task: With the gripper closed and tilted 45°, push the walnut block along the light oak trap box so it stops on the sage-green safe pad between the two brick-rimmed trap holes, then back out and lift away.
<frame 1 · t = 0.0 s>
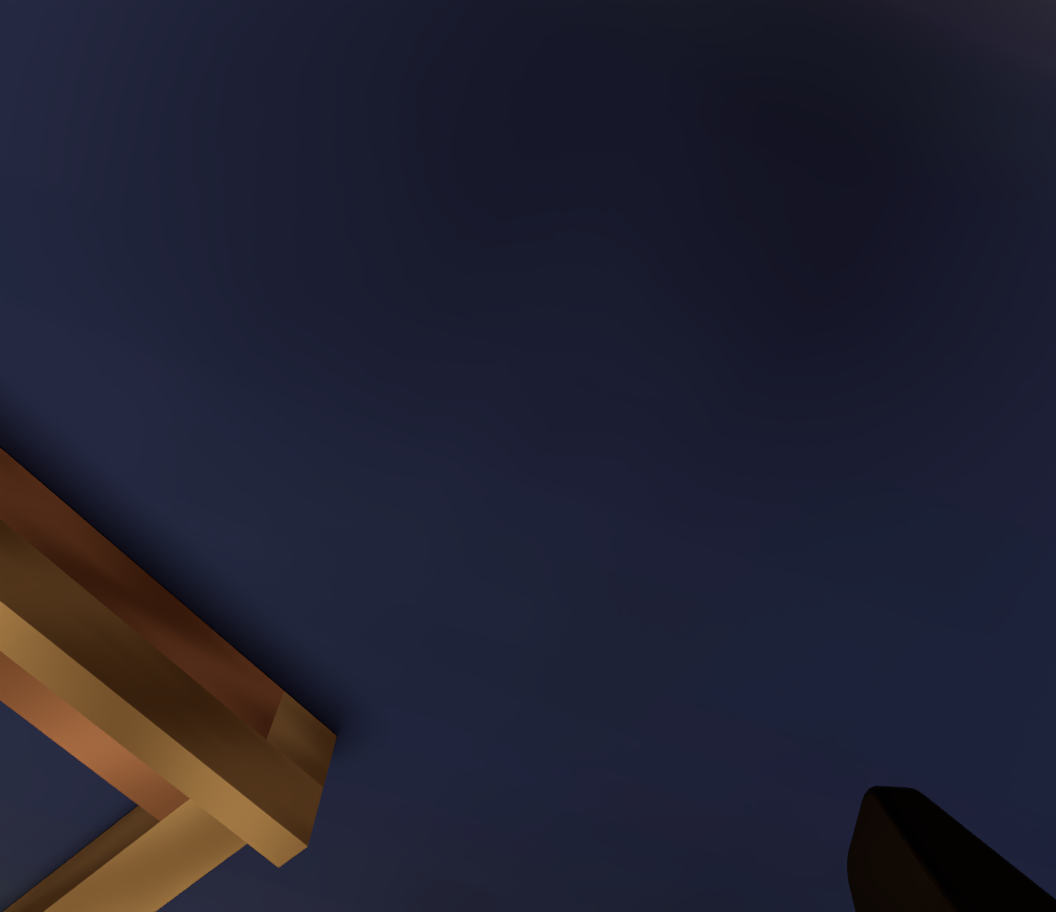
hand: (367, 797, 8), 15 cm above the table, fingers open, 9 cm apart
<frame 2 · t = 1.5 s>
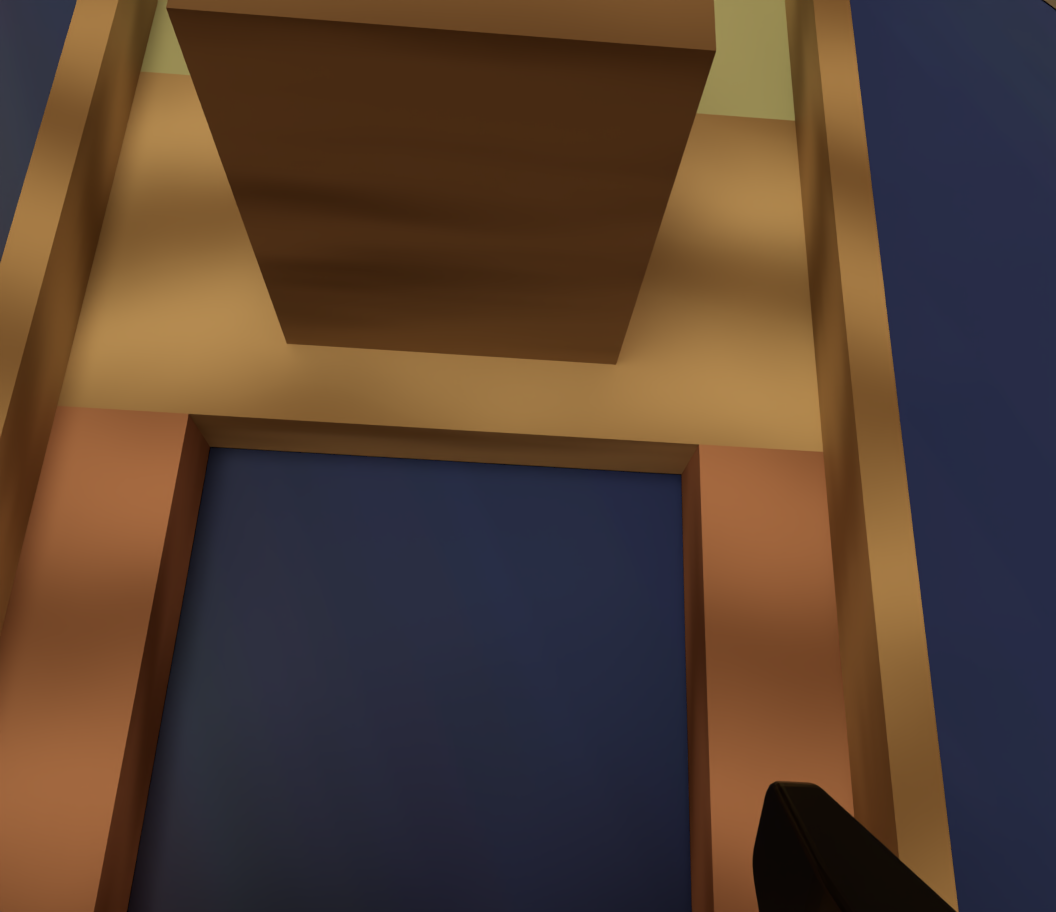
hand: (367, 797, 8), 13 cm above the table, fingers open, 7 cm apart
walnut block: (463, 217, 25), point 2 cm above the table, touching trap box
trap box: (481, 18, 30), on the table
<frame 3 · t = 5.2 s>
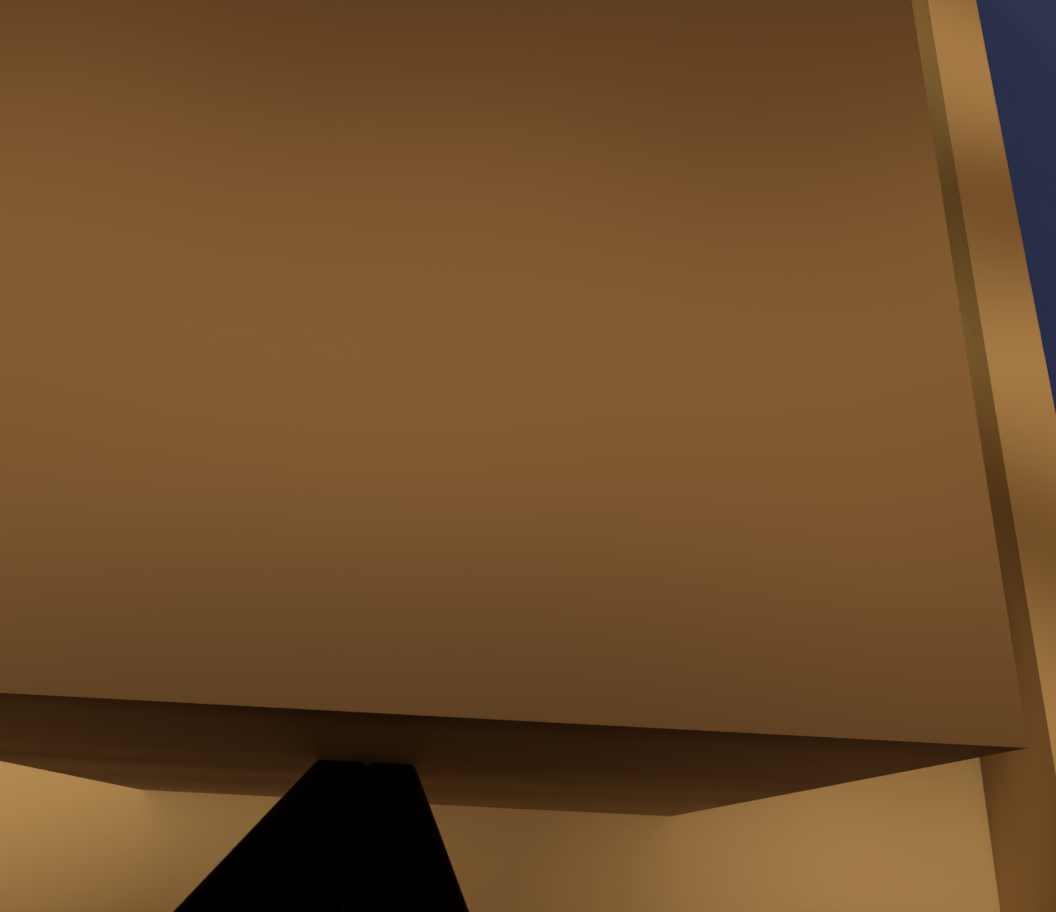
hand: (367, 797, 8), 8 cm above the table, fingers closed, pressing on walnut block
walnut block: (431, 550, 16), point 2 cm above the table, touching gripper, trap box
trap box: (466, 207, 21), on the table
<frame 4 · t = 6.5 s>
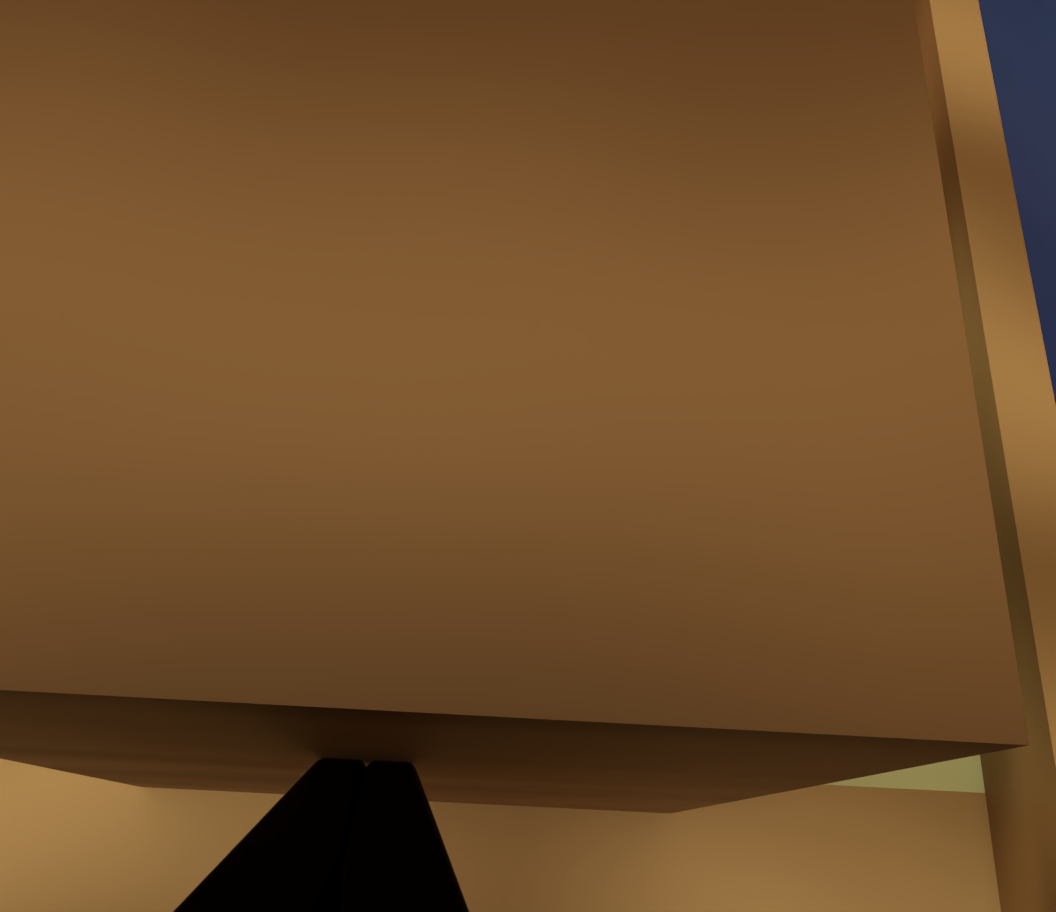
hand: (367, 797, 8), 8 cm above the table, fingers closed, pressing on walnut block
walnut block: (430, 547, 16), point 2 cm above the table, touching gripper
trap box: (441, 502, 18), on the table
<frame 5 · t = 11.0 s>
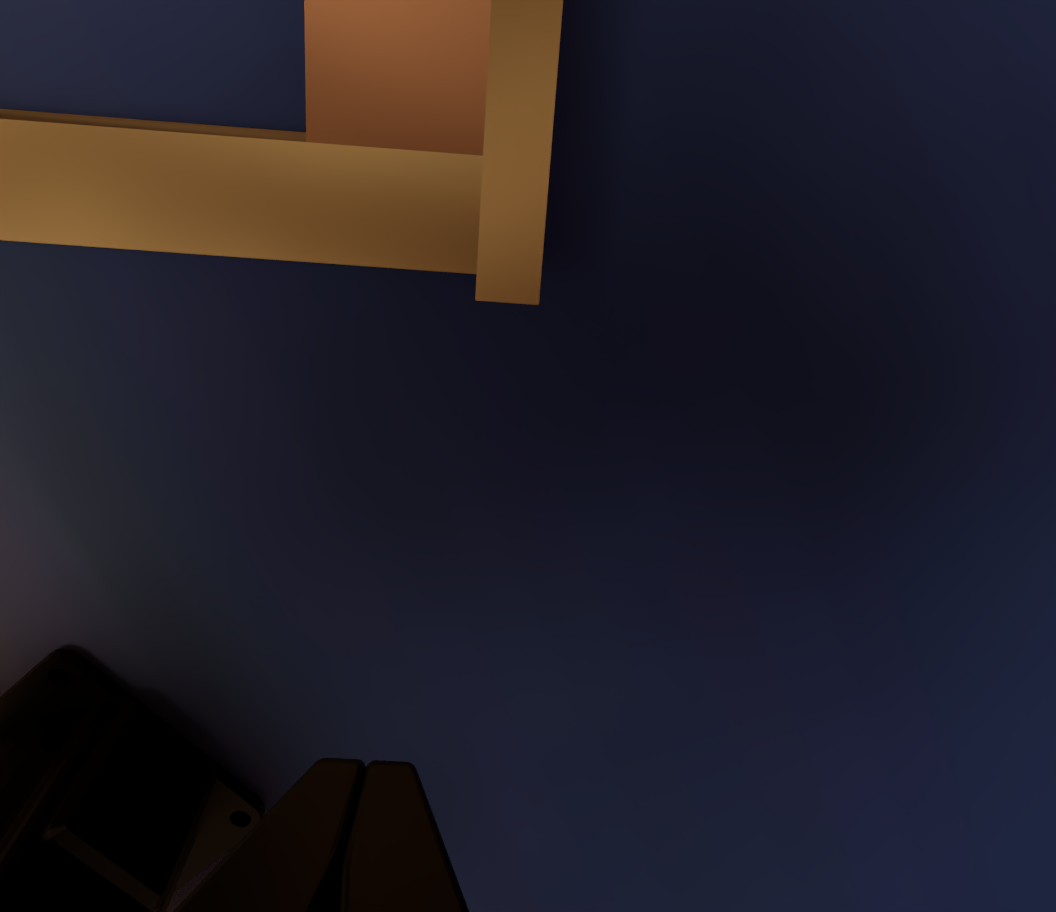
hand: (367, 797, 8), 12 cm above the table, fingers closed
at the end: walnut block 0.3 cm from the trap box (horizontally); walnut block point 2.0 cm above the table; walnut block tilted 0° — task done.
